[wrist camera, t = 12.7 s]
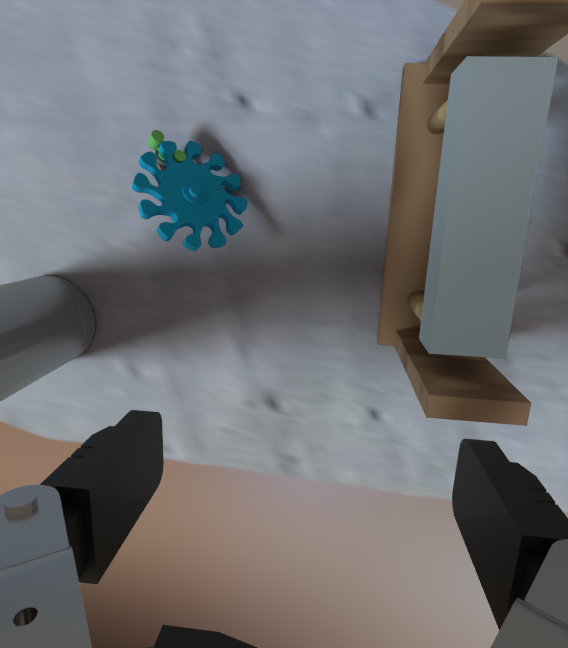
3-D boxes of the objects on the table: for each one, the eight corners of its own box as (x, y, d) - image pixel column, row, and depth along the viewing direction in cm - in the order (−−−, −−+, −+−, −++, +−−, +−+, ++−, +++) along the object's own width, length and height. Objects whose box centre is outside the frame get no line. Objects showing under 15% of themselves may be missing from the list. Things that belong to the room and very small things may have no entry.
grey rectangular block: (451, 74, 29) (467, 56, 26) (531, 75, 29) (558, 56, 25) (418, 338, 34) (428, 353, 30) (487, 342, 33) (505, 358, 30)
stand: (376, 340, 44) (401, 415, 28) (402, 68, 38) (454, -33, 22) (471, 346, 43) (552, 427, 27) (513, 69, 37) (651, -35, 21)
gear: (268, 224, 40) (173, 261, 35) (241, 248, 45) (154, 284, 40) (211, 115, 40) (105, 135, 35) (190, 151, 45) (95, 174, 40)
